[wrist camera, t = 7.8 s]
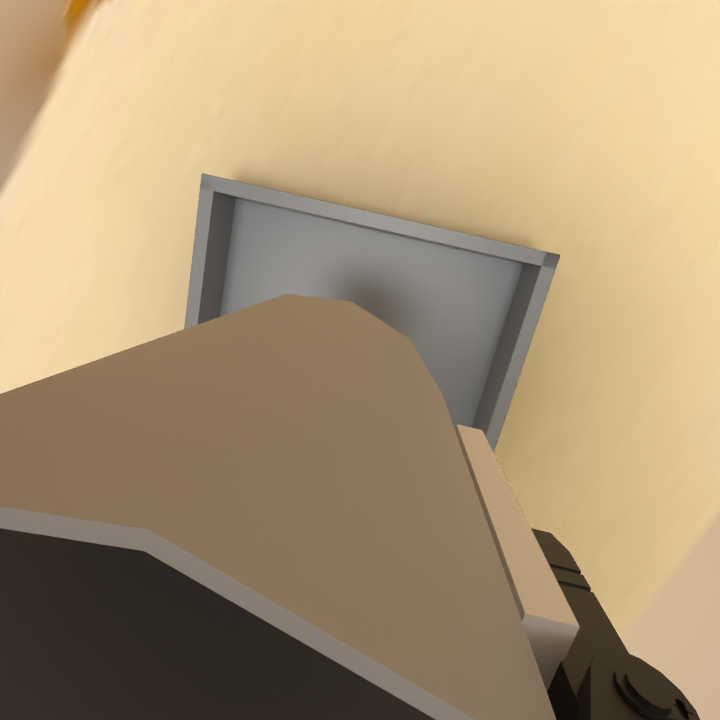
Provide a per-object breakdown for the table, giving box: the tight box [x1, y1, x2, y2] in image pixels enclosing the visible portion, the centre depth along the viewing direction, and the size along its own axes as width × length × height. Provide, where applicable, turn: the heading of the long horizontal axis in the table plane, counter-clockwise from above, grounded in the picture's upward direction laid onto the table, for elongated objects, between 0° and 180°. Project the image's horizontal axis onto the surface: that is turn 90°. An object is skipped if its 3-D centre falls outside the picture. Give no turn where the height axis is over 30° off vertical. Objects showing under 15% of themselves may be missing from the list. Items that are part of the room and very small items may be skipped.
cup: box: [0, 294, 556, 720], centre depth 8 cm, size 8×8×10 cm
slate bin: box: [184, 173, 560, 452], centre depth 28 cm, size 15×21×4 cm
